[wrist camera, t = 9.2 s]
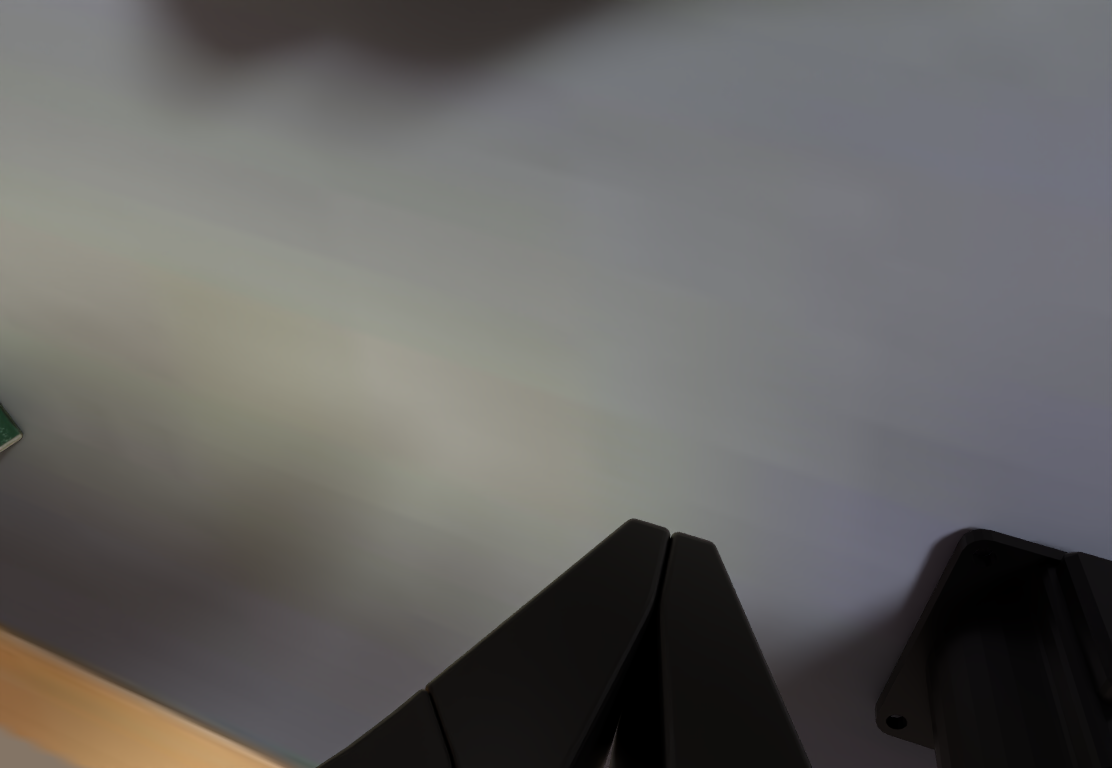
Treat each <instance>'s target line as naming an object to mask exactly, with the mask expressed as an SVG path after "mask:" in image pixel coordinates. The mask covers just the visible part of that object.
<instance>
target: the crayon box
mask: <svg viewBox="0 0 1112 768" xmlns="http://www.w3.org/2000/svg"><path fill="white" fill-rule="evenodd" d="M22 436H23V434H22V432H21V431H20V430H19V428H18V427H17V426H16V424H15V423H14V422H13V420H12V419H11V417H10V416H9V415H8V413H7V412H6V411H5V410H4V409H3V407H2V406H1V404H0V452H2V451H3V450H5V449H6V448H8V447H9V446H11V445H12V444H14V443H15V442H17V441H18V440H20V439H21V438H22Z"/></svg>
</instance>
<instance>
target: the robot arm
mask: <svg viewBox="0 0 1112 768" xmlns="http://www.w3.org/2000/svg"><path fill="white" fill-rule="evenodd" d="M980 549H990V550H992V552H991V553H990V554H989V555H986V556H977V555H975V554H974V553H975V552H976V551H977V550H980ZM894 714H895V715H901V716H902V717H898V718H896V717H891V715H894ZM875 716H876V723H877V726H878V728H879V729H880V730H881V731H882V732H884V733H886V734H888V735H891V736H894V737H897V738H900V739H903V740H906V741H909V742H913V743H916V744H919V745H922V746H925V747H928V748H931V749H934V750H935V753H936V761H937V768H1112V561H1110V560H1107V559H1103V558H1100V557H1096V556H1093V555H1089V554H1086V553H1083V552H1071V553H1067V552H1064V551H1061V550H1057V549H1054V548H1050V547H1047V546H1043V545H1040V544H1036V543H1033V542H1030V541H1026V540H1023V539H1019V538H1016V537H1012V536H1009V535H1006V534H1002V533H999V532H995V531H992V530H985V529H979V530H973V531H971V532H969V533H967V534H965V535H964V536H963V537H962V539H961V540H960V541H959V543H958V545H957V547H956V549H955V551H954V553H953V555H952V557H951V559H950V561H949V563H948V565H947V567H946V569H945V570H944V572H943V574H942V576H941V578H940V580H939V582H938V584H937V586H936V588H935V590H934V592H933V594H932V596H931V598H930V600H929V602H928V604H927V606H926V608H925V610H924V612H923V614H922V615H921V617H920V619H919V621H918V623H917V625H916V627H915V629H914V631H913V633H912V635H911V637H910V639H909V641H908V643H907V645H906V647H905V649H904V651H903V653H902V655H901V657H900V659H899V660H898V662H897V664H896V666H895V668H894V670H893V672H892V674H891V676H890V678H889V680H888V682H887V684H886V686H885V688H884V690H883V692H882V694H881V696H880V698H879V700H878V702H877V704H876V708H875ZM617 726H618V727H617ZM616 729H617V731H616ZM615 732H616V735H615ZM614 736H615V740H614V744H613V748H612V754H611V760H610V766H609V768H812V766H811V764H810V762H809V760H808V757H807V755H806V753H805V750H804V748H803V746H802V743H801V741H800V739H799V736H798V734H797V732H796V730H795V727H794V725H793V723H792V720H791V718H790V716H789V713H788V711H787V709H786V707H785V704H784V702H783V700H782V697H781V695H780V693H779V690H778V688H777V686H776V684H775V681H774V679H773V677H772V674H771V672H770V670H769V667H768V665H767V663H766V661H765V658H764V656H763V654H762V651H761V649H760V647H759V644H758V642H757V640H756V638H755V635H754V633H753V631H752V628H751V626H750V624H749V621H748V619H747V617H746V615H745V612H744V610H743V608H742V605H741V603H740V601H739V598H738V596H737V594H736V592H735V589H734V587H733V585H732V582H731V580H730V578H729V575H728V573H727V571H726V569H725V566H724V564H723V562H722V559H721V557H720V555H719V552H718V550H717V548H716V546H715V545H714V544H713V543H712V542H710V541H708V540H705V539H701V538H698V537H695V536H691V535H688V534H685V533H681V532H676V533H674V534H672V536H671V538H670V532H669V530H668V529H667V528H665V527H661V526H658V525H655V524H652V523H648V522H645V521H642V520H638V519H630V520H628V521H626V522H625V523H624V524H623V525H621V526H620V527H619V528H618V529H616V530H615V531H614V532H613V533H612V534H610V535H609V536H608V537H607V538H605V539H604V540H603V541H602V542H601V543H599V544H598V545H597V546H596V547H594V548H593V549H592V550H591V551H590V552H588V553H587V554H586V555H585V556H583V557H582V558H581V559H580V560H579V561H577V562H576V563H575V564H574V565H572V566H571V567H570V568H569V569H568V570H566V571H565V572H564V573H563V574H561V575H560V576H559V577H558V578H557V579H555V580H554V581H553V582H552V583H550V584H549V585H548V586H547V587H546V588H544V589H543V590H542V591H541V592H539V593H538V594H537V595H536V596H535V597H533V598H532V599H531V600H530V601H528V602H527V603H526V604H525V605H524V606H522V607H521V608H520V609H519V610H517V611H516V612H515V613H514V614H513V615H511V616H510V617H509V618H508V619H506V620H505V621H504V622H503V623H502V624H500V625H499V626H498V627H497V628H496V629H494V630H493V631H492V632H491V633H489V634H488V635H487V636H486V637H485V638H483V639H482V640H481V641H480V642H478V643H477V644H476V645H475V646H474V647H472V648H471V649H470V650H469V651H467V652H466V653H465V654H464V655H463V656H461V657H460V658H459V659H458V660H456V661H455V662H454V663H453V664H452V665H450V666H449V667H448V668H447V669H445V670H444V671H443V672H442V673H441V674H439V675H438V676H437V677H436V678H434V679H433V680H432V681H431V682H430V683H428V684H427V685H426V688H425V690H424V689H421V690H419V691H418V692H417V693H415V694H414V695H413V696H412V697H411V698H409V699H408V700H407V701H406V702H405V703H403V704H402V705H401V706H400V707H398V708H397V709H396V710H395V711H394V712H392V713H391V714H390V715H389V716H387V717H386V718H385V719H383V720H382V721H381V722H379V723H378V724H377V725H375V726H374V727H373V728H371V729H370V730H369V731H367V732H366V733H365V734H363V735H362V736H361V737H360V738H358V739H357V740H356V741H354V742H353V743H352V744H350V745H349V746H348V747H346V748H345V749H343V750H342V751H340V752H339V753H337V754H336V755H334V756H333V757H331V758H330V759H328V760H327V761H325V762H324V763H322V764H321V765H319V766H318V767H316V768H603V767H604V765H605V762H606V759H607V757H608V754H609V751H610V748H611V745H612V742H613V739H614Z"/></svg>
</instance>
